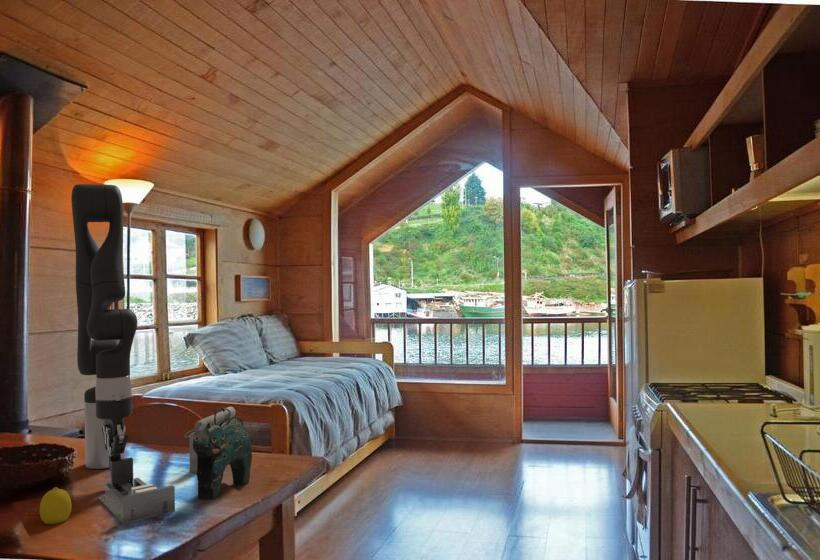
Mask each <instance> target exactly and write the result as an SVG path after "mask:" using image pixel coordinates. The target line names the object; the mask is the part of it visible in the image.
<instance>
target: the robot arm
mask: <svg viewBox="0 0 820 560" xmlns="http://www.w3.org/2000/svg"><path fill="white" fill-rule="evenodd" d="M70 196H71V197H70V198H71V201H70V203H71V212H72V213H71V214H72V224H73V233H74V242H75V243H74V244H75V292H76V306H77V320H78V321H77V352H76V353H77V354H76V355H77V356H76V358H77V359H76V360H77V369H78V371H79V373H80V374H81V375H82V376H96V380H95V385H94V386H93V387H90V388H88V389H86V390H85V392H84V394H83V401H84V440H85V441H84V443H85V444H84V447H85V449H84V451H85V452H84V453H85V455H84V457H85V468H87V469H89V470H90V469H92V470H100V469H107V468H108V470H109V471H110V472H111V463H110V461H114V460H119V459H125V449H126V447H127V446H126V445H127V442H128V437H129V436H128V433H126V424H125V423H124V418H127V417H130V416H131V415H132V413H133V406H132V405H133V404H132V402H133V401H132V398H133V397H132V381H131V366H130V365H131V363H130V360H131V359H130V358H131V352H132V346H133V342H134V339H135V336H136V332H137V328H138V316H137V315H136V313H135V312H134V311H133V310H132V309H130V308H118V309H117V308H115V309H110V307H111V306H112V304H114V303H117V302H119V301H122V300H123V299H124V298H125V297H126V286H125V277H124V268H123V247H124V246H123V243H124V203H123V196H122V192H121V190H120V188H119V187H118V186H117V185H115V184H99V183H97V184H96V183H95V184H93V183H92V184H91V183H79V184H78V183H77V184H75V185H74V186H73V188H72V191H71V195H70ZM89 223H109V228H108V232H107V235H106V237H105V239H104V241H103V243H102V244H101V246H100V247H99V246H98V244H97V243H96V240H95V239H94V238H93V236H92V234H91V232H90V229H89V226H88V224H89Z"/></svg>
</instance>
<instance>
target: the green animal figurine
mask: <svg viewBox="0 0 820 560" xmlns="http://www.w3.org/2000/svg"><path fill="white" fill-rule="evenodd" d="M220 410H221V411H222V410H223V412H225V407H223V406H221V407H217V408H216V410H215V411H214V413H213V415H214V423H215V425H210V423H208V424H207V425H202V426H200V427H199V428H198V429H197V430H195V431H194V432H195V433H194V437H193V449H194V451H195V452H196V454H197V472H196V479H197V497H198V499H200V500H212V501H213V500H215V499H216V498H218V497H220V495H221V487H222V481H223V477H224V472H225V470H226V468H227V467H228V465H229V466H230V470H231V473H232V474H231V476H232V484H233V485H241V486H242V485H246V484H248V483H249V482H250V477H251V467H252V458H253V449H252V446H253V445H252V441H251V438H250V433H249V432H248V429H247V427H246V426H244V421H243V418H241V417H240V416H234V417H232V418H230V419H229V420H228V421H227V422H226V423H224V422H221V423H219V424H217V425H216V414H217V413H219V412H218V411H220ZM232 419H237V420H239V421H240V423H238V422H237V423H229V422H230V421H231V420H232ZM223 423H224V424H223Z"/></svg>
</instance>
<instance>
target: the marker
mask: <svg viewBox="0 0 820 560" xmlns="http://www.w3.org/2000/svg"><path fill="white" fill-rule="evenodd" d="M146 484H147V483H146ZM157 488H158V487H156V485H155V484H152V483H148V484H147V485H142V486H138V487H134V486H133V488H131V494H134V493H138V492H143V491H148V490H152V489H157Z"/></svg>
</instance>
